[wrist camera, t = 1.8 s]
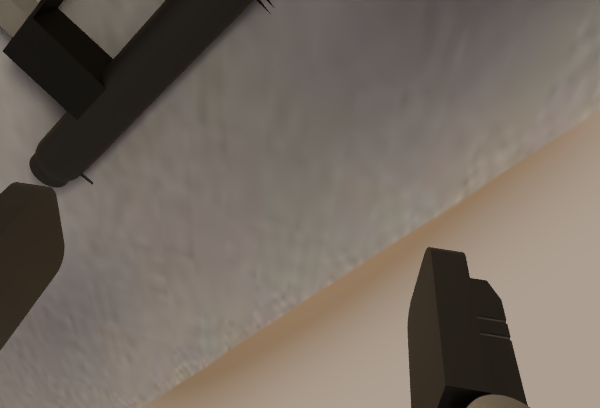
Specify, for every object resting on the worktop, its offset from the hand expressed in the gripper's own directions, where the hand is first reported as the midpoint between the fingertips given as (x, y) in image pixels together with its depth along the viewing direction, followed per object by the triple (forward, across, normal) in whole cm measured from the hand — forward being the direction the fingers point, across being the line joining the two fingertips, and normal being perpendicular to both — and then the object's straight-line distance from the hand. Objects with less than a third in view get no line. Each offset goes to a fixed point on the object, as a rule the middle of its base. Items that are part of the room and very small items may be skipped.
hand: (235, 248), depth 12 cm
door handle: (+21, +13, 0) cm, 24 cm away
